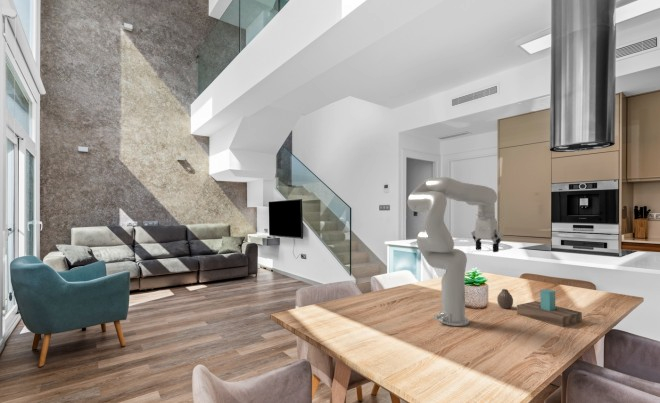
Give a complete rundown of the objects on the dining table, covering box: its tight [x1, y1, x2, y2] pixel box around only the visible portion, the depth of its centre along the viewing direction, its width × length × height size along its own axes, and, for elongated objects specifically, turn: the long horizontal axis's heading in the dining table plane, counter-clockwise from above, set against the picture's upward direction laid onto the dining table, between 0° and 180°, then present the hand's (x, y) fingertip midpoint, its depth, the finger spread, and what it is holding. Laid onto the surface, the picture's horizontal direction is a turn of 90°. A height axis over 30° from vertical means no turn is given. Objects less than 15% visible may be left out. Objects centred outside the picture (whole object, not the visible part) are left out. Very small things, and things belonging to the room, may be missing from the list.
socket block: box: [516, 300, 583, 328], centre depth 153 cm, size 14×20×4 cm
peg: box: [539, 288, 556, 311], centre depth 153 cm, size 4×4×12 cm
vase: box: [496, 288, 514, 310], centre depth 168 cm, size 7×7×9 cm
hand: (486, 250), depth 166 cm, fingers open, 9 cm apart
